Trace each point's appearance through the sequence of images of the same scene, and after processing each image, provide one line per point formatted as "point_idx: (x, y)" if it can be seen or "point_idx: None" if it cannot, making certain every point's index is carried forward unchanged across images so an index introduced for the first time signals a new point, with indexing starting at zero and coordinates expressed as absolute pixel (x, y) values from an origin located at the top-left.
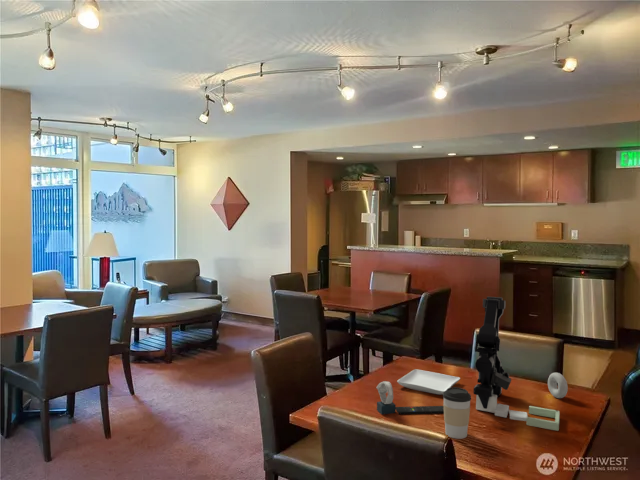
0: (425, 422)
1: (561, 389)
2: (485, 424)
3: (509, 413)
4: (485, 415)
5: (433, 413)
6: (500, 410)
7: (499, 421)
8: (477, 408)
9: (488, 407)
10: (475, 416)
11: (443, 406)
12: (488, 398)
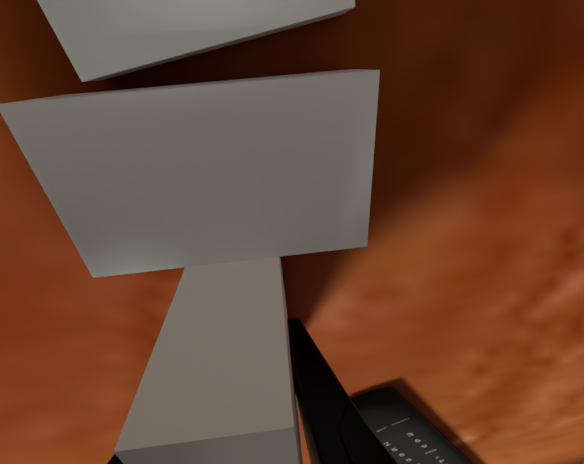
0: (570, 433)
1: None
2: (577, 224)
3: (196, 51)
4: (363, 275)
5: (457, 449)
6: (352, 181)
7: (476, 128)
8: None
9: (286, 314)
10: (418, 320)
11: None
12: (387, 453)
